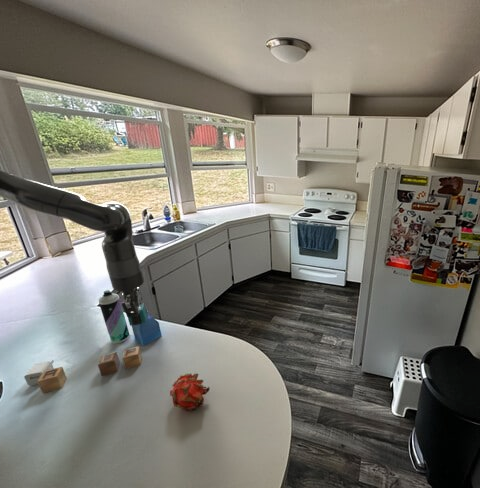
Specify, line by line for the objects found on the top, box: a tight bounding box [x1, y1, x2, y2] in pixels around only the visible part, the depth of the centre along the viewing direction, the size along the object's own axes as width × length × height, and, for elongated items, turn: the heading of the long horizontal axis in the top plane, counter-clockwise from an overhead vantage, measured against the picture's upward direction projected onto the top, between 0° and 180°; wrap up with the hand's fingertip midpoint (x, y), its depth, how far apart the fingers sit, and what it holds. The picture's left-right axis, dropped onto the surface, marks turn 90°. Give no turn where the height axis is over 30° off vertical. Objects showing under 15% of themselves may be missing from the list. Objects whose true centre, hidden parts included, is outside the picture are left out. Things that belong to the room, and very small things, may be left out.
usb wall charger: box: [23, 359, 55, 386], centre depth 76 cm, size 4×7×4 cm, turn 22°
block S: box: [127, 303, 147, 327], centre depth 78 cm, size 4×4×5 cm
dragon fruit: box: [169, 372, 210, 412], centre depth 69 cm, size 8×8×12 cm
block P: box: [122, 345, 143, 370], centre depth 82 cm, size 4×4×5 cm
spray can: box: [98, 290, 131, 344], centre depth 90 cm, size 6×6×20 cm
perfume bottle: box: [130, 307, 162, 346], centre depth 92 cm, size 6×6×12 cm
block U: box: [97, 351, 121, 377], centre depth 79 cm, size 4×4×5 cm
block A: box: [37, 366, 68, 394], centre depth 73 cm, size 4×4×5 cm
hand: (138, 319), depth 79 cm, fingers closed on block S, 4 cm apart
